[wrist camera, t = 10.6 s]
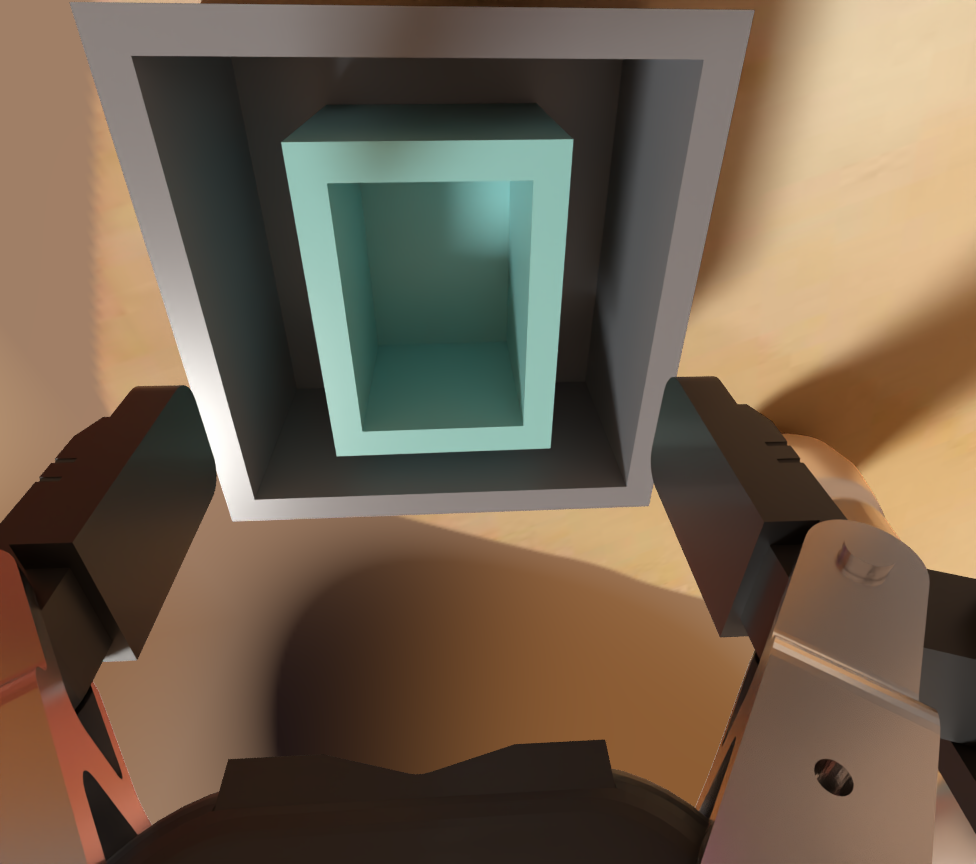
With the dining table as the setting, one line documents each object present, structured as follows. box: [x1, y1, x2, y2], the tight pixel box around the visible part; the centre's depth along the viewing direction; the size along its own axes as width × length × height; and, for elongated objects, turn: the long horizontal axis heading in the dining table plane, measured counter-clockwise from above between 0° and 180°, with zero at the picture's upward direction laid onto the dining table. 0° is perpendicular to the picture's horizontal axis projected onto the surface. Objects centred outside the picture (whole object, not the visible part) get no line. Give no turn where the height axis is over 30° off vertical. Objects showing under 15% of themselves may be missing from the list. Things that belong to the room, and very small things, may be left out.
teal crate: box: [281, 103, 573, 456], centre depth 17 cm, size 8×6×6 cm
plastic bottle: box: [782, 433, 976, 864], centre depth 19 cm, size 6×7×20 cm
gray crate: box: [70, 2, 755, 521], centre depth 17 cm, size 12×12×7 cm
